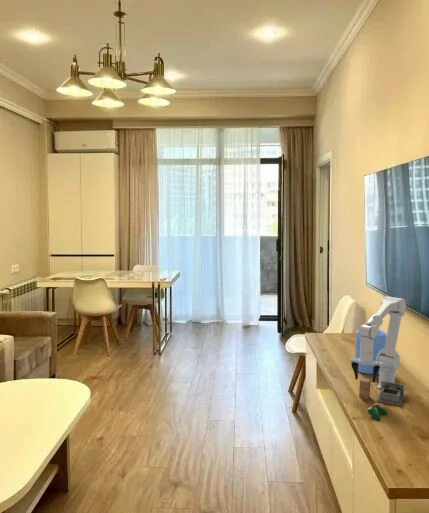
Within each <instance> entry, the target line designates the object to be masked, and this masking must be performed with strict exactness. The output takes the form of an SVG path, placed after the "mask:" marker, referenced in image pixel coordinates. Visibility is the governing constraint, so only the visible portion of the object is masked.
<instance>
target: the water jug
mask: <svg viewBox="0 0 429 513" xmlns="http://www.w3.org/2000/svg"><path fill="white" fill-rule="evenodd" d="M358 331H359V329H356V333H355V334H356V335H355V350H354V351H355V352H354V354H355V356H354V358H360V339H359V334H358ZM386 336H387V332H385V331H383V330H381V329H380V328H378V332H377V334H376V337H375V338H374V343H373V360H374V361H376V358H377V356H378V353H379V351H380V350H382V349H384V347H385V342H386ZM385 355H387V354H385ZM373 368H374V366H370V365H363V364H359V365H358V373H361V374H364V373H365V375H372V376H373ZM379 371H380V369H379ZM379 371H378V373H377V375H379Z"/></svg>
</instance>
